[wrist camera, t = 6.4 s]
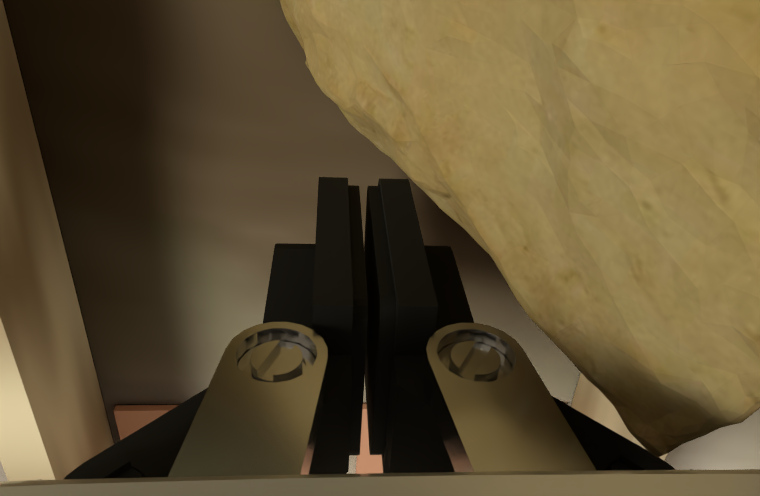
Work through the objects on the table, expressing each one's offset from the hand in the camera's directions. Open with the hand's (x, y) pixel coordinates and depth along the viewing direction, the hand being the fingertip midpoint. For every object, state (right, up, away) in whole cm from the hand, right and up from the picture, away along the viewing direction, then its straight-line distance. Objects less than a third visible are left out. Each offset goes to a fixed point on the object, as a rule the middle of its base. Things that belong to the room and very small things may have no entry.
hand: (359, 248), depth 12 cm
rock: (+2, +3, +1) cm, 4 cm away
